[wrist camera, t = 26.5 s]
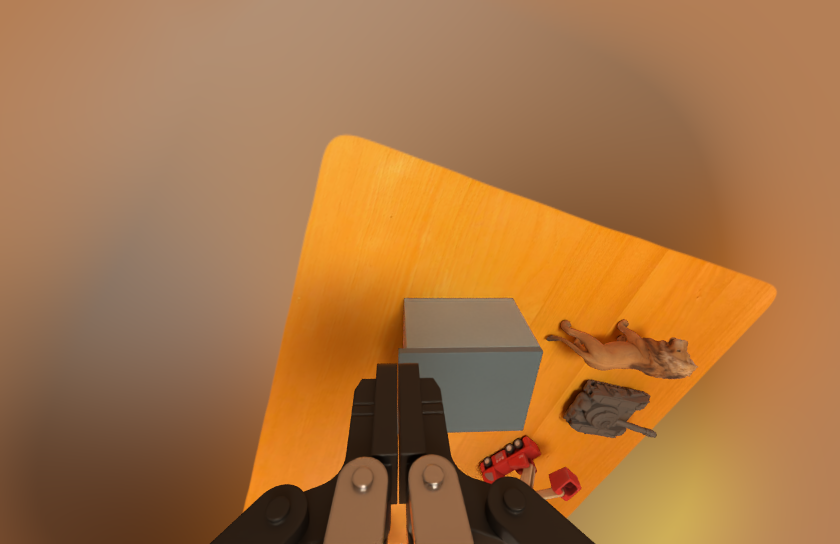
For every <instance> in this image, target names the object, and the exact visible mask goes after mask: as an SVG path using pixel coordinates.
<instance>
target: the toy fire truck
mask: <svg viewBox="0 0 840 544" xmlns="http://www.w3.org/2000/svg"><path fill="white" fill-rule="evenodd" d="M522 440H523V441H521V440H520V439H516V440H515V441H514V446H513V445H512V444H508V445H507V446H506V450H502V451H500V452H499V453H497V454H495V455H494V456H492V457H491V458H489V457H486V458H485V459H484V462H482V463H481V464H480V467H481V472H482V476H483V479H484V482H487V483H490V484H492V483H493V482H494V481H495V480H496V479H498V478H501V477H505V475H507V474H508V473H510V472H512V471H514V470H516V472H517V473H518V474H519V475H521V478H520V480H522V481H524V482H525V483H526V484H528V485H529V486H530V487H531V488H532V489H533V484H534V477H535V473H536V472H537V469H536V467H535V464H534V462H533V459H535V458H537V457H538V456H540V455H541V453H540V451H539V448H538V446H537V444H536V443H535V442H533V441H532V440H531V439H530V438H528V437H524V438H523V439H522ZM549 478H550V483H551V488H549V489H544V490H539V491H536V492H537V493H538V494H539V495H540V496H541V497H543V498H544V499H545V500H546V499H551V498H556V497H561V498H562V499H564V500H565V501H568V500H569V499H570V498H571V497H573V496H574V495H575V494H576V493H577V492H578V491H579V490H580V489H581V486H580V483H579V481H578V478H577V476H576V475H575V474H573V473H572V472H571V471H570V470H569V469H568V468H567V467H564V468H562V469H559V470H558V471H555V472H553V473H551V474H549Z"/></svg>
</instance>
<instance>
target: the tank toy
mask: <svg viewBox="0 0 840 544" xmlns="http://www.w3.org/2000/svg"><path fill="white" fill-rule="evenodd" d="M583 389H584V391H586V392H580V393H579V394H578V395H577V396H576V399H575V401H574V402H573V403H572V404H571V405H570V406H569V408H568V409H567V411H566V412H565V414H564V415H563V418H564V419H566V421H567V422H568V423H569V425H570V426H571V427H572V428H573V429H575V430H576V431H578V432H583V433H584V434H594V435H600V436H605V437H611V438H616V437H615V436H620V435H622V434H623V433H624V432H625V431H626V428H628V429H630V430H633V431H636V432H640V433H642V434H643V435H646V436H648V437H654V438H655V437H656V432H654V431H653V430H651V429H647V428H643V427H640V426H638V425H635V424H632V423H629V422H626V421H627V420H628V419H629V418H630V417H631V415H632V414H633V413H634V412H635V411H636V410H641V409H644V407H645V406H646V405H647V404H648V403H649V402H650V401H649V398H650V395H648V394H647V393H645V392H643V391H642V392H641V391H637V390H633V389H629V388H626V389H625V387H620V386H616V385H612V384H609V385H608V383H605V384H604V383H603V382H601V383H600V382H599V381H594V380H588V381H587V383H586V384H585V386H584V387H583Z"/></svg>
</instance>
